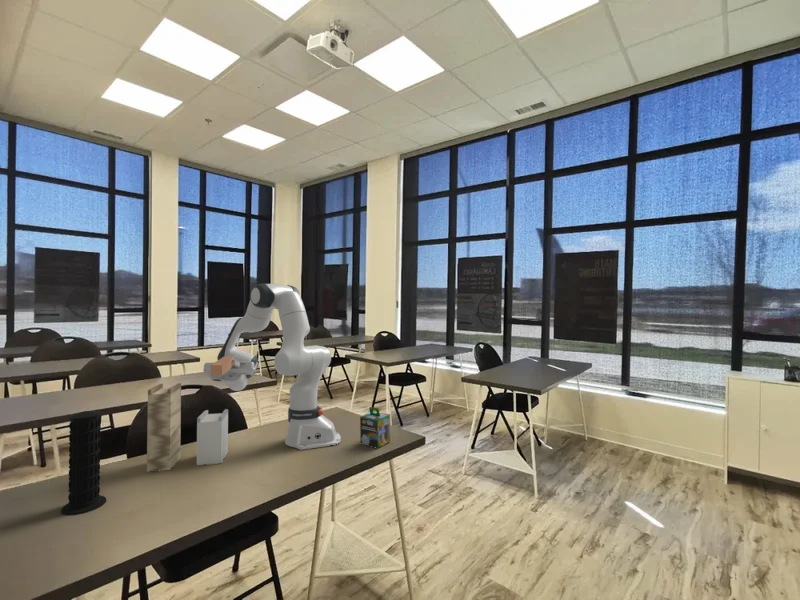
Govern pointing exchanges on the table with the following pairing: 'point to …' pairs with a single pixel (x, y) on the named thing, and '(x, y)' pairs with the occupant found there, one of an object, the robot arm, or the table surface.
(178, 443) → the block
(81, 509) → the handle grip
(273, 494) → the table surface
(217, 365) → the shaft
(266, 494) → the table surface
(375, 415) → the chalk box
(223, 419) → the yoke block
